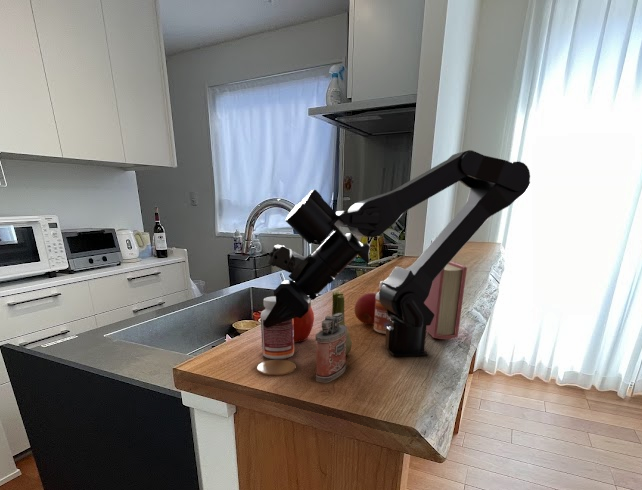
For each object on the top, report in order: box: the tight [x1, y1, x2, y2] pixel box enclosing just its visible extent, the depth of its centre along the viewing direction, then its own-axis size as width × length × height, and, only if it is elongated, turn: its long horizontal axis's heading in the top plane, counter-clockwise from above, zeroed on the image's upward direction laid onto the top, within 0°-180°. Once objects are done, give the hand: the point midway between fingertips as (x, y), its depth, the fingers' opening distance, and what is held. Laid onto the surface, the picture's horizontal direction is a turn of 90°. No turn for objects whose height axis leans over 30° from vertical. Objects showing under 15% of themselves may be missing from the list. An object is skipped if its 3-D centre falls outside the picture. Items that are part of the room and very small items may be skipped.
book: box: [424, 260, 468, 340], centre depth 84 cm, size 14×15×5 cm
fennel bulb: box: [331, 291, 352, 356], centre depth 71 cm, size 6×5×12 cm
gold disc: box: [256, 359, 297, 376], centre depth 67 cm, size 7×7×1 cm
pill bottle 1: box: [260, 295, 295, 360], centre depth 72 cm, size 6×6×11 cm
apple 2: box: [354, 292, 378, 325], centre depth 92 cm, size 8×8×8 cm
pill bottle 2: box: [373, 280, 392, 335], centre depth 85 cm, size 6×6×11 cm
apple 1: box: [293, 306, 315, 343], centre depth 81 cm, size 8×8×11 cm
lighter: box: [315, 313, 348, 383], centre depth 63 cm, size 8×3×10 cm, turn 148°
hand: (268, 321), depth 72 cm, fingers closed on pill bottle 1, 6 cm apart
